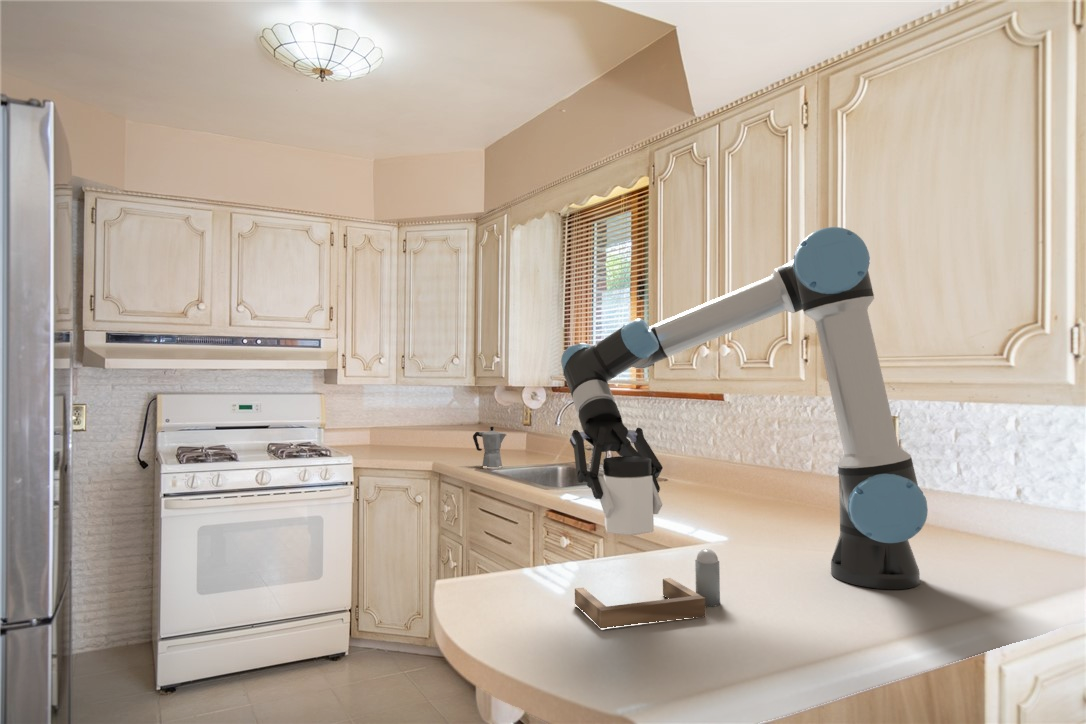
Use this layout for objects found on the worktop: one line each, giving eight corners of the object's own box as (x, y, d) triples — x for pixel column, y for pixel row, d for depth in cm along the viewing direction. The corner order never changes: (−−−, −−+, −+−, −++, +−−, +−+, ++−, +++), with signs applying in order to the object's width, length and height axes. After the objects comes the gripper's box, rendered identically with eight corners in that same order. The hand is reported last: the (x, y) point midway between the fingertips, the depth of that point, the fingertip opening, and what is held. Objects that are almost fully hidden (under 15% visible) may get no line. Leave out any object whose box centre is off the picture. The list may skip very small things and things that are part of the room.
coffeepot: (510, 467, 294) (509, 425, 294) (503, 469, 285) (502, 427, 285) (477, 466, 298) (476, 425, 298) (469, 469, 289) (469, 427, 289)
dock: (574, 606, 113) (574, 588, 113) (670, 595, 118) (670, 577, 118) (601, 630, 102) (601, 610, 102) (705, 616, 107) (705, 598, 107)
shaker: (724, 602, 114) (723, 549, 114) (711, 608, 111) (710, 553, 112) (704, 597, 117) (703, 545, 117) (691, 602, 114) (690, 549, 114)
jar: (602, 524, 118) (601, 456, 119) (648, 523, 118) (647, 455, 119) (606, 536, 109) (605, 462, 110) (656, 535, 109) (654, 461, 110)
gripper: (641, 421, 132) (683, 519, 116) (540, 425, 126) (569, 529, 110) (653, 395, 127) (698, 493, 111) (548, 397, 121) (580, 502, 105)
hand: (634, 511), depth 111 cm, fingers closed on jar, 8 cm apart
